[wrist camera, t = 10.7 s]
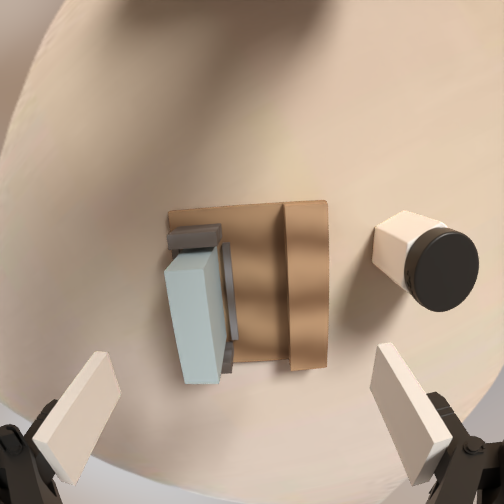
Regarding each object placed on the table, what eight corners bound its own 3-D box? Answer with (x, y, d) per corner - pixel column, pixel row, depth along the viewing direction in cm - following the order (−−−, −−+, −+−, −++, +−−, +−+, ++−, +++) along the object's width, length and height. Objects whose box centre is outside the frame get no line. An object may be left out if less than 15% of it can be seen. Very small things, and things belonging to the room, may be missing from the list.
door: (178, 245, 37) (153, 271, 27) (216, 242, 37) (203, 268, 27) (191, 337, 40) (175, 383, 30) (226, 336, 40) (219, 383, 30)
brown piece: (170, 211, 37) (155, 218, 31) (324, 200, 37) (337, 205, 31) (192, 358, 42) (183, 385, 36) (324, 350, 42) (334, 376, 36)
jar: (356, 254, 38) (395, 288, 27) (391, 198, 37) (442, 212, 25) (406, 287, 39) (451, 327, 28) (438, 236, 38) (492, 260, 26)
